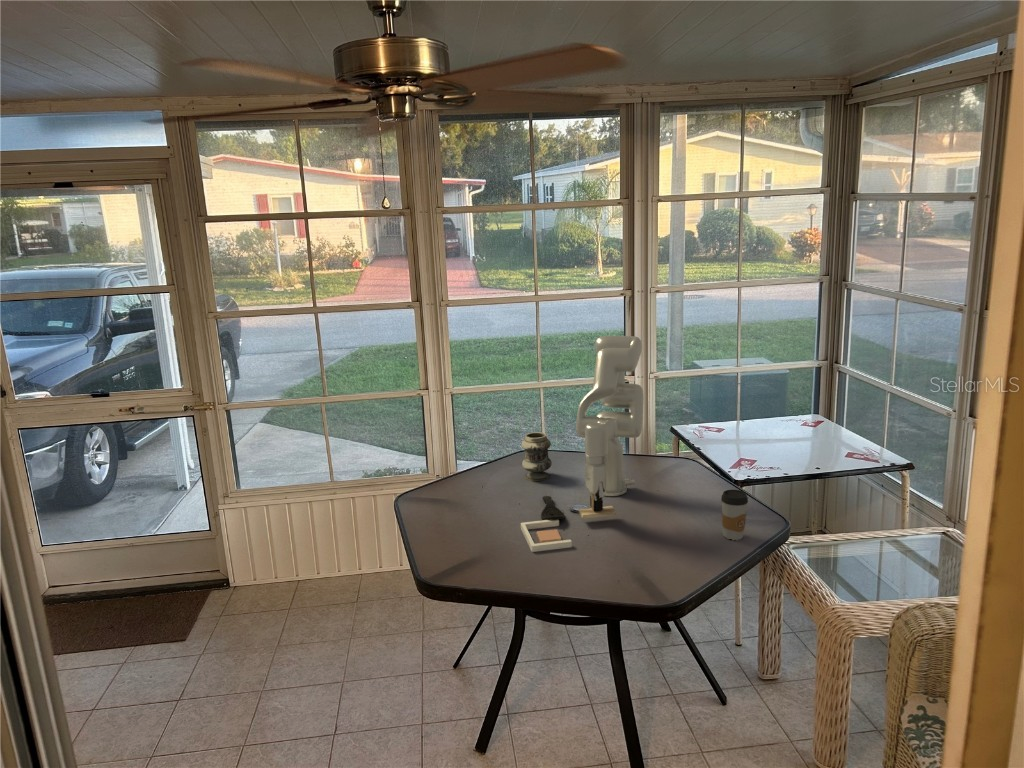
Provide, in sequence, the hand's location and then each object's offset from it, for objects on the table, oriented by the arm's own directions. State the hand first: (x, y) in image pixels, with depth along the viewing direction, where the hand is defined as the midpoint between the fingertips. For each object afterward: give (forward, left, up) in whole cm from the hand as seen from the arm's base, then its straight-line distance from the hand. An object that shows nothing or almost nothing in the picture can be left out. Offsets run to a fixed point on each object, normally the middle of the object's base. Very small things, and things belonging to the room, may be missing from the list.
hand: (596, 508), depth 247 cm
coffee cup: (-39, +24, -5) cm, 46 cm away
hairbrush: (+14, -11, -5) cm, 18 cm away
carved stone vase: (+11, -46, -5) cm, 48 cm away
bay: (+20, +9, -4) cm, 22 cm away
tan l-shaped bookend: (0, 0, -2) cm, 2 cm away
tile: (+19, +9, -5) cm, 22 cm away
